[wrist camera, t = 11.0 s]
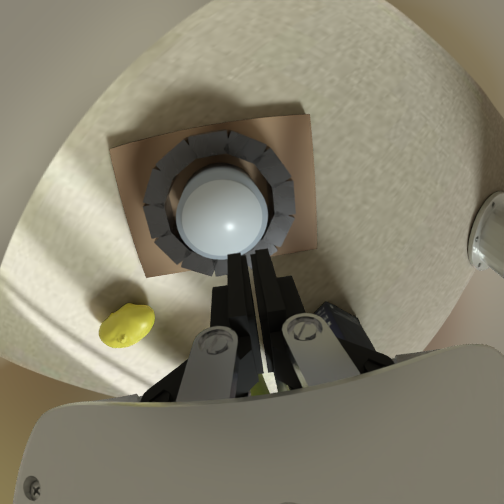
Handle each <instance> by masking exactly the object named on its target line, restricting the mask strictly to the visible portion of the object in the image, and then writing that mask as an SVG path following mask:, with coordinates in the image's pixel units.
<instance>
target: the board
mask: <svg viewBox="0 0 504 504" xmlns="http://www.w3.org/2000/svg"><path fill="white" fill-rule="evenodd" d="M222 129H226V130H227V135H228V132H229V130H232V131H235V132H238V133H240V134H243V135H245V136H248V137H251V138H253V139H256V140H258V141H260V142H263V143H265V144H267V146H269V147H270V148H271V149H272V150H273V151H274V153H275V154H276V155H277V157H278V158H279V159H280V161H281V162H282V163H283V165H284V166H285V167H286V169H287V170H288V172H289V173H290V174H291V176H292V177H290V178H291V179H292V180H293V181H294V194H295V208H296V214H292V215H293V216H294V217H295V219H294V221H293V223H292V225H291V227H290V229H289V231H288V233H287V235H286V238H285V240H284V242H283V244H282V246H281V247H278V246H276V247H277V250H278V251H277V252H275V253H274V254H272V255H271V256H270V257H272V256H278V255H283V254H289V253H295V252H300V251H306V250H312V249H317V216H316V192H315V173H314V158H313V144H312V132H311V121H310V114H302V115H287V116H274V117H264V118H255V119H247V120H239V121H232V122H225V123H219V124H212V125H207V126H201V127H196V128H191V129H186V130H181V131H176V132H172V133H167V134H163V135H159V136H154V137H150V138H146V139H143V140H139V141H135V142H132V143H128V144H125V145H121V146H118V147H114V148H111V149H109V150H110V155H111V160H112V164H113V168H114V173H115V177H116V181H117V185H118V189H119V193H120V196H121V200H122V204H123V207H124V211H125V214H126V218H127V221H128V225H129V228H130V231H131V234H132V238H133V241H134V244H135V247H136V250H137V253H138V256H139V259H140V262H141V265H142V268H143V270H144V273H145V276H146V278H149V277H155V276H161V275H167V274H173V273H179V272H185V271H191V270H188V269H185V268H182V267H181V263H182V262H180V263H179V264H178V265H176V264H175V263H174V262H173V261H172V260H171V259H170V258H169V257H168V256H167V255H166V254H165V253H164V252H163V251H162V250H161V249H160V248H159V247H158V246H157V245H156V244H155V243H154V241H155V239H156V238H154V239H152V238H151V235H150V231H149V228H148V224H147V221H146V217H145V213H144V210H143V206H144V204H145V203H143V200H144V196H145V192H146V189H147V185H148V182H149V179H150V175H151V172H152V169H153V168H154V167H155V166H156V165H155V164H156V163H157V162H158V161H159V160H161V159H162V158H163V157H164V156H165V155H166V154H167V153H168V152H169V151H171V150H172V149H173V148H174V147H175V146H176V145H177V144H179V143H180V142H181V141H182V140H183V139H185V138H186V137H189V136H190V135H194V134H199V133H205V132H210V131H216V130H222ZM212 163H229V164H233V165H235V166H238V167H239V168H241V169H243V170H244V171H245V172H246V173H247V174H248V175H249V176H250V177H251V179H252V180H253V182H254V183H255V185H256V186H257V188H258V189H259V191H260V192H261V194H262V196H263V197H264V199H265V202H266V205H267V206H268V204H269V203H268V194H267V185H266V179H265V178H264V176H263V175H262V174H261V172H260V171H259V170H258V169H257V167H256V166H255V165H254V164H253V163H250V162H247V161H245V160H242V159H240V158H237V157H234V156H232V155H229V154H220V155H214V156H209V157H203V158H198V159H195V160H194V161H193V162H191V163H190V164H189V165H188V166H187V167H185V168H184V169H183V170H182V171H181V172H180V173H179V174H177V175H176V177H175V180H174V183H173V186H172V189H171V192H170V195H169V197H170V201H171V206H172V210H173V214H174V218H175V221H176V211H177V206H178V203H179V201H180V198H181V195H182V193H183V190H184V188H185V185H186V183H187V181H188V180H189V178H190V177H191V176H192V175H193V174H194V173H195V172H196V171H197V170H198V169H200V168H202V167H204V166H206V165H209V164H212Z"/></svg>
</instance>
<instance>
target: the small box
mask: <svg viewBox="0 0 504 504" xmlns="http://www.w3.org/2000/svg"><path fill="white" fill-rule="evenodd" d="M314 314H315V315H317V316H319V317H321V318H322V319H323V320H324V321H325V322H326V323H327V325H328V326H329V327H330V329H331V330H332V332H333V333H334V335H335V336H336V337H338V338H341V339H343V340H346V341H349V342H351V343H354V344H357V345H359V346H362V347H365V348H368V349H370V350H373V351H376V350H375V349H374V347H373V345H372V343H371V341H370V340H369V338H368V336H367V335H366V333H365V331H364V330H363V328H362V326H361V324H360V322H359V319H358V318H356V317H355V316H352V315H351V314H348V313H347V312H345V311H343V310H342V309H339V308H338V307H337V306H335V305H333V304H330V303H328V302H325V303H324V304H323V305H322V306H321V307H320V308H319V309H318V310H317V311H316V312H315V313H314ZM276 385H277V389H278V392H283V391H287V388H286V384H284V383H282V382H281V381H279V380H277V379H276Z"/></svg>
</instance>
